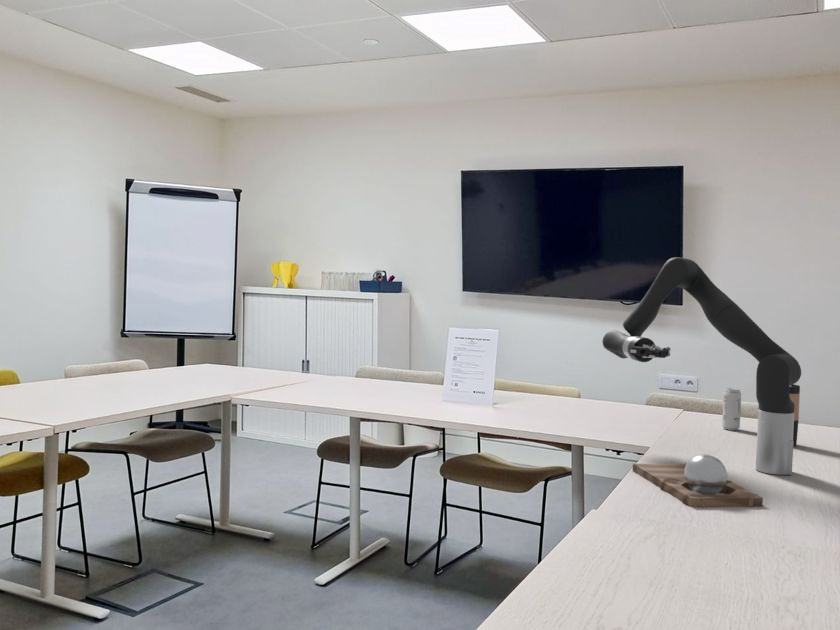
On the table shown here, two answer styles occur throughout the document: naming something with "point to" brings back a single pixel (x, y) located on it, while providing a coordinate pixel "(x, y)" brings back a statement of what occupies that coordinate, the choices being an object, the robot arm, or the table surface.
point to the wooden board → (675, 484)
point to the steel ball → (705, 474)
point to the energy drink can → (731, 409)
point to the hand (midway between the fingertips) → (663, 354)
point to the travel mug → (794, 396)
